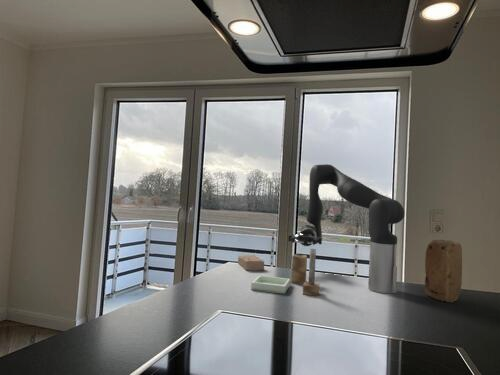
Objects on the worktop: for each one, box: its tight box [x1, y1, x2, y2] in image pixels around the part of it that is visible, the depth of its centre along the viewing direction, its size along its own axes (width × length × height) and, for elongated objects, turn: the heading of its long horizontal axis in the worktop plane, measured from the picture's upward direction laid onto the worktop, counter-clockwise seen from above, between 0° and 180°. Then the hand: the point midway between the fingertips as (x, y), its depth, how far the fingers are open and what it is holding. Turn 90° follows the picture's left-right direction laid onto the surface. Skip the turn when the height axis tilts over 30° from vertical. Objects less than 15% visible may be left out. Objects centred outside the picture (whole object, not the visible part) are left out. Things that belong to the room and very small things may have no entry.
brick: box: [237, 254, 265, 272], centre depth 160 cm, size 17×8×5 cm, turn 15°
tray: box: [250, 275, 291, 295], centre depth 126 cm, size 12×12×2 cm
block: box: [424, 239, 463, 303], centre depth 123 cm, size 11×8×20 cm
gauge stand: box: [302, 248, 320, 297], centre depth 122 cm, size 5×5×15 cm
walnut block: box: [290, 253, 308, 285], centre depth 137 cm, size 5×5×10 cm
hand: (303, 241), depth 148 cm, fingers open, 8 cm apart
